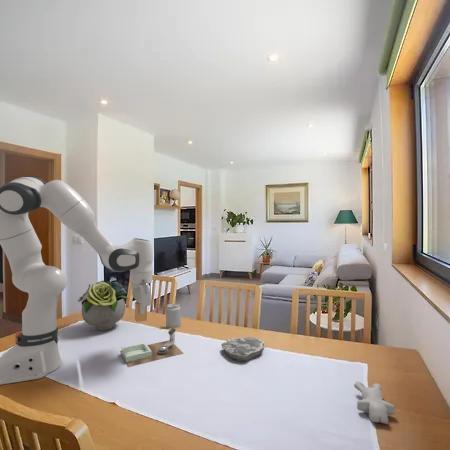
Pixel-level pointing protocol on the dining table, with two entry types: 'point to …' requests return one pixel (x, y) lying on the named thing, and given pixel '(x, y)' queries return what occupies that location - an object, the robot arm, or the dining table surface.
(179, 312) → the can
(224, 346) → the brain slice
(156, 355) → the mechanism board
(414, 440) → the dining table surface
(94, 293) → the flower arrangement
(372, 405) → the bunny figurine
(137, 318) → the block
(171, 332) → the crank
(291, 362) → the dining table surface
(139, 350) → the tray
